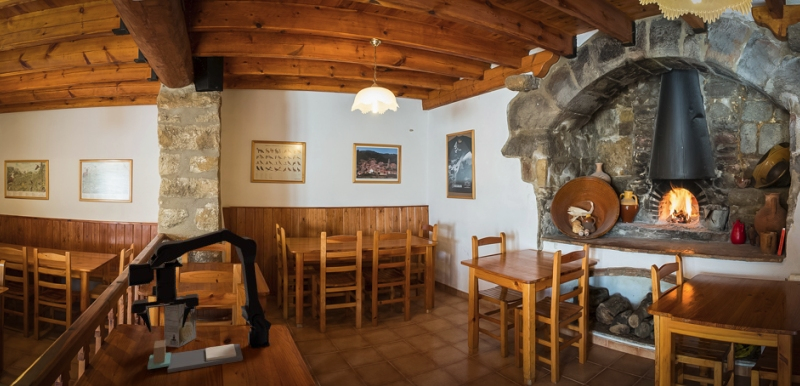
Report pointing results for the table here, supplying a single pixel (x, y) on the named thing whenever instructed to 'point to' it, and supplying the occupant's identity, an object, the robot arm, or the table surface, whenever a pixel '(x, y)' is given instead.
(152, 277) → the robot arm
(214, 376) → the table surface
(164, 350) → the stub
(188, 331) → the coffee box
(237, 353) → the board
